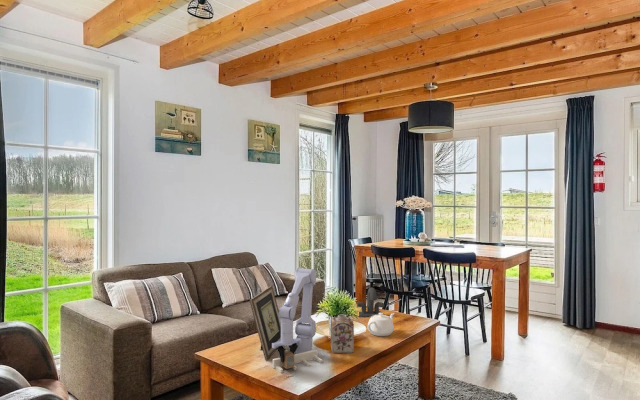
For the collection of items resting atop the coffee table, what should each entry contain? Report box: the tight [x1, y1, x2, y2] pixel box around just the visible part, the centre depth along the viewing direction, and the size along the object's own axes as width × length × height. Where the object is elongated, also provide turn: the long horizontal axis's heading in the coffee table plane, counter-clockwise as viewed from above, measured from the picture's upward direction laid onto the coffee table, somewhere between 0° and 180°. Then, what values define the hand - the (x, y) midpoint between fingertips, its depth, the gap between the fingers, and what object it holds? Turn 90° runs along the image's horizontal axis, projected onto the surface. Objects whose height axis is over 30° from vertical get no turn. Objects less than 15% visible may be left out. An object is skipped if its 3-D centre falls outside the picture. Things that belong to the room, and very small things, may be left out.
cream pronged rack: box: [271, 349, 324, 374], centre depth 205 cm, size 8×24×5 cm, turn 122°
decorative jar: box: [329, 313, 355, 354], centre depth 226 cm, size 12×12×18 cm
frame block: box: [280, 349, 294, 370], centre depth 199 cm, size 6×4×6 cm, turn 33°
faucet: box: [356, 287, 385, 318], centre depth 286 cm, size 18×16×20 cm
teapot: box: [366, 312, 395, 337], centre depth 253 cm, size 25×16×12 cm, turn 135°
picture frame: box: [249, 285, 281, 361], centre depth 227 cm, size 33×10×30 cm, turn 168°
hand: (286, 360), depth 200 cm, fingers closed on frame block, 4 cm apart
